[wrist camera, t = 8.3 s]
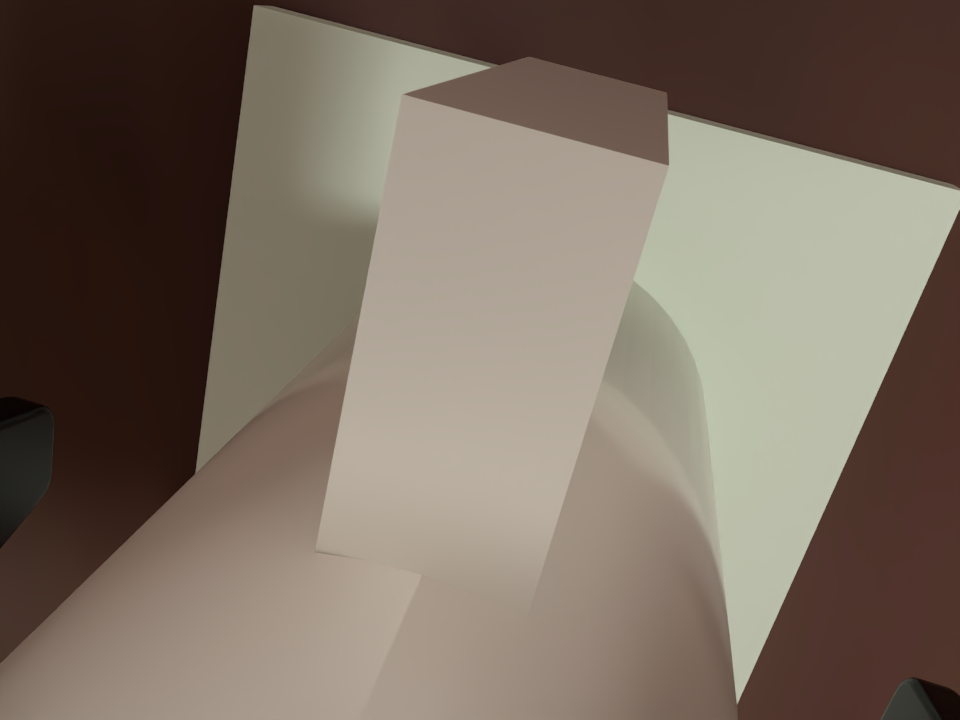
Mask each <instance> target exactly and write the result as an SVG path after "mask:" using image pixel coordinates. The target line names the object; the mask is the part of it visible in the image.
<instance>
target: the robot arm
mask: <svg viewBox="0 0 960 720" xmlns="http://www.w3.org/2000/svg"><path fill="white" fill-rule="evenodd" d="M54 425H55V424H54V416H53V413H52V412H51V410H50V409H49V408H48V407H46V406H44V405H41V404H37V403H34V402H31V401H28V400H25V399H21V398H18V397H5V398H0V549H1V547H2V546H3V545H4V544H5V542H6V541H7V540H8V539H9V538H10V536H11V535H12V534H13V533H14V532H15V530H16V529H17V528H18V527H19V525H20V524H21V523H22V522H23V521H24V519H25V518H26V517H27V516H28V515H29V513H30V512H31V511H32V510H33V508H34V507H35V506H36V505H37V504H38V502H39V501H40V500H41V499H42V497H43V496H44V494H45V492H46V491H47V489H48V486H49V484H50V480H51V476H52V464H53V444H54ZM881 720H960V696H959V695H958V694H957V693H956V692H955V691H953V690H951V689H949V688H947V687H944V686H941V685H938V684H935V683H931V682H928V681H925V680H922V679H918V678H914V677H912V678H908V679H905V680H904V681H903V682H902V683H901V684H900V685H899V687H898V688H897V690H896V692H895V693H894V695H893V697H892V699H891V701H890V703H889V705H888V707H887V708H886V710H885V712H884V714H883V716H882V718H881Z"/></svg>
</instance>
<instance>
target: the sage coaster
mask: <svg viewBox="0 0 960 720" xmlns="http://www.w3.org/2000/svg"><path fill="white" fill-rule="evenodd" d="M496 66H499V65H496V64H492V63H488V62H484V61H480V60H477V59H473V58H469V57H465V56H461V55H457V54H454V53H450V52H446V51H442V50H438V49H435V48H431V47H427V46H423V45H419V44H415V43H412V42H408V41H404V40H400V39H396V38H393V37H389V36H385V35H381V34H377V33H374V32H370V31H366V30H362V29H358V28H354V27H351V26H347V25H343V24H339V23H335V22H332V21H328V20H324V19H320V18H316V17H313V16H309V15H305V14H301V13H297V12H293V11H290V10H286V9H282V8H278V7H274V6H259V5H254V7H253V15H252V23H251V31H250V39H249V47H248V55H247V63H246V71H245V79H244V87H243V95H242V103H241V111H240V119H239V127H238V135H237V143H236V151H235V159H234V167H233V175H232V184H231V192H230V200H229V208H228V216H227V224H226V232H225V240H224V248H223V256H222V264H221V272H220V280H219V288H218V296H217V304H216V312H215V320H214V328H213V336H212V344H211V352H210V360H209V368H208V376H207V384H206V392H205V400H204V408H203V416H202V424H201V432H200V440H199V448H198V456H197V464H196V472H195V474H196V473H197V472H198V471H199V470H200V469H201V468H202V467H203V466H204V465H205V464H206V463H207V462H208V461H209V460H210V459H211V458H212V457H213V456H214V455H215V454H216V453H217V452H218V451H219V450H220V449H221V448H222V447H223V446H224V445H225V444H226V443H227V442H228V441H229V440H230V439H232V438H233V437H234V436H235V435H236V434H237V433H238V432H239V431H240V430H241V429H242V428H243V427H244V426H245V425H246V424H247V423H248V422H249V421H250V420H251V419H252V418H253V417H254V416H255V415H256V414H257V413H258V412H259V411H260V410H261V409H262V408H263V407H264V406H265V405H266V404H267V403H268V402H270V401H271V400H272V399H273V398H274V397H275V396H276V395H277V394H278V393H279V392H280V391H281V390H282V389H283V388H284V387H285V386H286V385H287V384H288V383H289V382H290V381H291V380H292V379H293V378H294V377H295V376H296V375H297V374H298V373H299V372H300V371H301V370H302V369H303V368H304V367H305V366H306V365H307V364H309V363H310V362H311V361H312V360H313V359H314V358H315V357H316V356H317V355H318V354H319V353H320V352H321V351H322V350H323V349H324V348H325V347H326V346H327V345H328V344H329V343H330V342H331V341H332V340H333V339H334V338H335V337H336V336H337V335H338V334H339V333H340V332H341V331H342V330H343V329H344V328H345V327H346V326H348V325H349V324H350V323H351V322H352V321H353V320H354V319H355V318H356V317H357V316H358V315H359V314H360V312H361V307H362V302H363V296H364V291H365V286H366V281H367V275H368V270H369V265H370V260H371V254H372V249H373V244H374V239H375V233H376V228H377V223H378V218H379V212H380V207H381V202H382V197H383V191H384V186H385V181H386V176H387V170H388V165H389V160H390V155H391V149H392V144H393V139H394V134H395V129H396V123H397V118H398V113H399V108H400V102H401V97H402V94H405V93H408V92H411V91H415V90H418V89H421V88H425V87H428V86H432V85H435V84H438V83H442V82H445V81H449V80H452V79H455V78H459V77H462V76H465V75H469V74H472V73H476V72H479V71H482V70H486V69H489V68H492V67H496ZM668 144H669V168H668V171H667V174H666V177H665V181H664V184H663V187H662V190H661V193H660V196H659V200H658V203H657V206H656V209H655V212H654V216H653V219H652V222H651V225H650V228H649V231H648V235H647V238H646V241H645V244H644V247H643V251H642V254H641V257H640V260H639V263H638V266H637V270H636V273H635V276H634V279H633V280H634V281H635V282H636V283H637V284H638V285H639V286H641V287H642V288H643V289H644V290H645V291H646V292H647V293H649V294H650V295H651V296H652V297H653V298H654V299H655V300H656V301H657V302H658V303H659V305H660V306H661V307H662V308H663V309H664V310H665V312H666V313H667V314H668V315H669V316H670V317H671V319H672V320H673V322H674V323H675V325H676V326H677V328H678V329H679V331H680V332H681V334H682V336H683V337H684V339H685V341H686V343H687V345H688V347H689V349H690V351H691V353H692V356H693V358H694V360H695V363H696V366H697V369H698V372H699V375H700V379H701V382H702V387H703V393H704V399H705V406H706V415H707V424H708V434H709V443H710V453H711V462H712V472H713V481H714V491H715V501H716V510H717V520H718V529H719V539H720V548H721V558H722V567H723V577H724V586H725V596H726V605H727V615H728V624H729V634H730V643H731V653H732V662H733V672H734V681H735V691H736V701H737V703H738V701H739V699H740V697H741V694H742V692H743V690H744V688H745V686H746V683H747V681H748V679H749V677H750V674H751V672H752V670H753V668H754V666H755V663H756V661H757V659H758V657H759V654H760V652H761V650H762V648H763V646H764V643H765V641H766V639H767V637H768V634H769V632H770V630H771V628H772V625H773V623H774V621H775V619H776V617H777V614H778V612H779V610H780V608H781V605H782V603H783V601H784V599H785V597H786V594H787V592H788V590H789V588H790V585H791V583H792V581H793V579H794V576H795V574H796V572H797V570H798V568H799V565H800V563H801V561H802V559H803V556H804V554H805V552H806V550H807V548H808V545H809V543H810V541H811V539H812V536H813V534H814V532H815V530H816V527H817V525H818V523H819V521H820V519H821V516H822V514H823V512H824V510H825V507H826V505H827V503H828V501H829V499H830V496H831V494H832V492H833V490H834V487H835V485H836V483H837V481H838V479H839V476H840V474H841V472H842V470H843V467H844V465H845V463H846V461H847V458H848V456H849V454H850V452H851V450H852V447H853V445H854V443H855V441H856V438H857V436H858V434H859V432H860V430H861V427H862V425H863V423H864V421H865V418H866V416H867V414H868V412H869V409H870V407H871V405H872V403H873V401H874V398H875V396H876V394H877V392H878V389H879V387H880V385H881V383H882V381H883V378H884V376H885V374H886V372H887V369H888V367H889V365H890V363H891V361H892V358H893V356H894V354H895V352H896V349H897V347H898V345H899V343H900V340H901V338H902V336H903V334H904V332H905V329H906V327H907V325H908V323H909V320H910V318H911V316H912V314H913V312H914V309H915V307H916V305H917V303H918V300H919V298H920V296H921V294H922V291H923V289H924V287H925V285H926V283H927V280H928V278H929V276H930V274H931V271H932V269H933V267H934V265H935V263H936V260H937V258H938V256H939V254H940V251H941V249H942V247H943V245H944V242H945V240H946V238H947V236H948V234H949V231H950V229H951V227H952V225H953V222H954V220H955V218H956V216H957V214H958V211H959V209H960V188H958V187H956V186H954V185H953V184H949V183H946V182H942V181H938V180H934V179H930V178H927V177H923V176H919V175H915V174H911V173H908V172H904V171H900V170H896V169H892V168H888V167H885V166H881V165H877V164H873V163H869V162H866V161H862V160H858V159H854V158H850V157H846V156H843V155H839V154H835V153H831V152H827V151H824V150H820V149H816V148H812V147H808V146H805V145H801V144H797V143H793V142H789V141H785V140H782V139H778V138H774V137H770V136H766V135H763V134H759V133H755V132H751V131H747V130H743V129H740V128H736V127H732V126H728V125H724V124H721V123H717V122H713V121H709V120H705V119H702V118H698V117H694V116H690V115H686V114H682V113H679V112H675V111H671V110H668Z"/></svg>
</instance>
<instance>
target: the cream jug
mask: <svg viewBox="0 0 960 720" xmlns="http://www.w3.org/2000/svg"><path fill="white" fill-rule="evenodd" d="M668 168H669V144H668V110H667V93H666V92H662V91H658V90H655V89H651V88H647V87H643V86H639V85H635V84H631V83H628V82H624V81H620V80H616V79H612V78H608V77H605V76H601V75H597V74H593V73H589V72H585V71H582V70H578V69H574V68H570V67H566V66H562V65H559V64H555V63H551V62H547V61H543V60H539V59H535V58H532V57H526V58H523V59H519V60H516V61H513V62H509V63H506V64H503V65H499V66H496V67H492V68H489V69H486V70H482V71H479V72H476V73H472V74H469V75H465V76H462V77H459V78H455V79H452V80H449V81H445V82H442V83H438V84H435V85H432V86H428V87H425V88H421V89H418V90H415V91H411V92H408V93H405V94H402V97H401V102H400V108H399V113H398V118H397V123H396V129H395V134H394V139H393V144H392V149H391V155H390V160H389V165H388V170H387V176H386V181H385V186H384V191H383V197H382V202H381V207H380V212H379V218H378V223H377V228H376V233H375V239H374V244H373V249H372V254H371V260H370V265H369V270H368V275H367V281H366V286H365V291H364V296H363V302H362V307H361V312H360V314H359V315H358V316H357V317H356V318H355V319H354V320H353V321H352V322H351V323H350V324H349V325H348V326H346V327H345V328H344V329H343V330H342V331H341V332H340V333H339V334H338V335H337V336H336V337H335V338H334V339H333V340H332V341H331V342H330V343H329V344H328V345H327V346H326V347H325V348H324V349H323V350H322V351H321V352H320V353H319V354H318V355H317V356H316V357H315V358H314V359H313V360H312V361H311V362H310V363H309V364H307V365H306V366H305V367H304V368H303V369H302V370H301V371H300V372H299V373H298V374H297V375H296V376H295V377H294V378H293V379H292V380H291V381H290V382H289V383H288V384H287V385H286V386H285V387H284V388H283V389H282V390H281V391H280V392H279V393H278V394H277V395H276V396H275V397H274V398H273V399H272V400H271V401H270V402H268V403H267V404H266V405H265V406H264V407H263V408H262V409H261V410H260V411H259V412H258V413H257V414H256V415H255V416H254V417H253V418H252V419H251V420H250V421H249V422H248V423H247V424H246V425H245V426H244V427H243V428H242V429H241V430H240V431H239V432H238V433H237V434H236V435H235V436H234V437H233V438H232V439H230V440H229V441H228V442H227V443H226V444H225V445H224V446H223V447H222V448H221V449H220V450H219V451H218V452H217V453H216V454H215V455H214V456H213V457H212V458H211V459H210V460H209V461H208V462H207V463H206V464H205V465H204V466H203V467H202V468H201V469H200V470H199V471H198V472H197V473H196V474H195V475H194V476H193V477H191V478H190V479H189V480H188V481H187V482H186V483H185V484H184V485H183V486H182V487H181V488H180V489H179V490H178V491H177V492H176V493H175V494H174V495H173V496H172V497H171V498H170V499H169V500H168V501H167V502H166V503H165V504H164V505H163V506H162V507H161V508H160V509H159V510H158V511H157V512H156V513H155V514H154V515H152V516H151V517H150V518H149V519H148V520H147V521H146V522H145V523H144V524H143V525H142V526H141V527H140V528H139V529H138V530H137V531H136V532H135V533H134V534H133V535H132V536H131V537H130V538H129V539H128V540H127V541H126V542H125V543H124V544H123V545H122V546H121V547H120V548H119V549H118V550H117V551H116V552H115V553H113V554H112V555H111V556H110V557H109V558H108V559H107V560H106V561H105V562H104V563H103V564H102V565H101V566H100V567H99V568H98V569H97V570H96V571H95V572H94V573H93V574H92V575H91V576H90V577H89V578H88V579H87V580H86V581H85V582H84V583H83V584H82V585H81V586H80V587H79V588H78V589H77V590H75V591H74V592H73V593H72V594H71V595H70V596H69V597H68V598H67V599H66V600H65V601H64V602H63V603H62V604H61V605H60V606H59V607H58V608H57V609H56V610H55V611H54V612H53V613H52V614H51V615H50V616H49V617H48V618H47V619H46V620H45V621H44V622H43V623H42V624H41V625H40V626H39V627H38V628H36V629H35V630H34V631H33V632H32V633H31V634H30V635H29V636H28V637H27V638H26V639H25V640H24V641H23V642H22V643H21V644H20V645H19V646H18V647H17V648H16V649H15V650H14V651H13V652H12V653H11V654H10V655H9V656H8V657H7V658H6V659H5V660H4V661H3V662H2V663H1V664H0V720H738V710H737V701H736V691H735V681H734V672H733V662H732V653H731V643H730V634H729V624H728V615H727V605H726V596H725V586H724V577H723V567H722V558H721V548H720V539H719V529H718V520H717V510H716V501H715V491H714V481H713V472H712V462H711V453H710V443H709V434H708V424H707V415H706V406H705V399H704V393H703V387H702V382H701V379H700V375H699V372H698V369H697V366H696V363H695V360H694V358H693V356H692V353H691V351H690V349H689V347H688V345H687V343H686V341H685V339H684V337H683V336H682V334H681V332H680V331H679V329H678V328H677V326H676V325H675V323H674V322H673V320H672V319H671V317H670V316H669V315H668V314H667V313H666V312H665V310H664V309H663V308H662V307H661V306H660V305H659V303H658V302H657V301H656V300H655V299H654V298H653V297H652V296H651V295H650V294H649V293H647V292H646V291H645V290H644V289H643V288H642V287H641V286H639V285H638V284H637V283H636V282H635V281H634V280H633V279H634V276H635V273H636V270H637V266H638V263H639V260H640V257H641V254H642V251H643V247H644V244H645V241H646V238H647V235H648V231H649V228H650V225H651V222H652V219H653V216H654V212H655V209H656V206H657V203H658V200H659V196H660V193H661V190H662V187H663V184H664V181H665V177H666V174H667V171H668Z"/></svg>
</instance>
